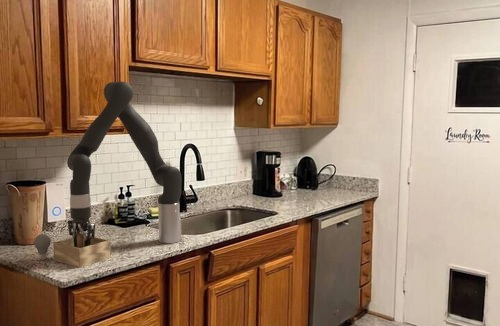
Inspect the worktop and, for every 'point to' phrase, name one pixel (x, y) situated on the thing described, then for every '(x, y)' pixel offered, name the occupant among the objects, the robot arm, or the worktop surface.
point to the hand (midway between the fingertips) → (82, 248)
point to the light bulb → (42, 245)
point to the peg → (80, 240)
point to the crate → (81, 252)
